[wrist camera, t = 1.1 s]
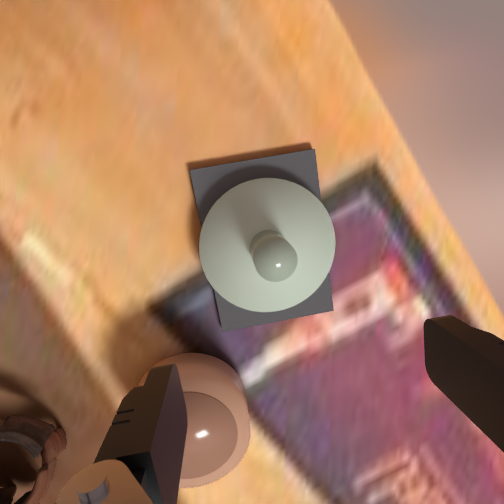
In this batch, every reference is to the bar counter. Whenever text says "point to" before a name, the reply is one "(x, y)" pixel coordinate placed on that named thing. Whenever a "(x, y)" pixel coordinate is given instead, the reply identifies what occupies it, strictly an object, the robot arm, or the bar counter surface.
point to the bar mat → (229, 175)
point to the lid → (267, 244)
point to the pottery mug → (33, 452)
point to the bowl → (210, 417)
